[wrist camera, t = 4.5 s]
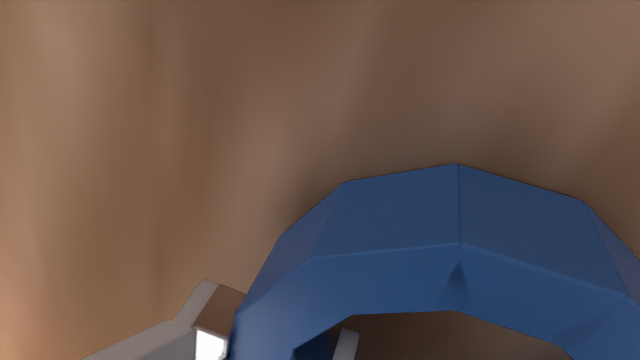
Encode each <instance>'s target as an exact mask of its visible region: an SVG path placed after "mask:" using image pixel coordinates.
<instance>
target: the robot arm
mask: <svg viewBox="0 0 640 360" xmlns="http://www.w3.org/2000/svg"><path fill="white" fill-rule="evenodd" d="M246 295H247V294H245V293H242V292H240V291H237V290H234V289H232V288H229V287H227V286H224V285H221V284H219V283H216V282H213V281H210V280H208V279H203V280H202V281H201V282H200V283H199V284H198V285H197V287H196V288H195V290H194V291H193V292H192V294H191V295H190V296H189V298H188V299H187V301H186V302H185V303H184V305H183V306H182V308H181V309H180V310H179V312H178V313H177V314H176V316H175V317H174V319H173V320H172V321H170V320H164V321H162V322H160V323H158V324H156V325H154V326H152V327H149V328H147V329H145V330H143V331H141V332H139V333H136V334H134V335H132V336H130V337H128V338H126V339H124V340H121V341H119V342H117V343H115V344H113V345H111V346H109V347H106V348H104V349H102V350H100V351H98V352H96V353H93V354H91V355H89V356H87V357H85V358H83V359H81V360H229V359H230V358H229V356H230V348H231V343H232V335H233V325H234V317H235V314H236V312H237V311H238V309H239V307H240V305H241V304H242V302H243V300H244V298H245V296H246ZM358 340H359V333H357V332H354V331H351V330H348V329H345V328H343V327H341V326H338V325H334V326H333V327H331V328H329V329H328V330H326V331H324V332H323V333H321V334H319V335H318V336H316V337H314V338H313V339H311V340H309V341H308V342H306V343H304V344H303V345H301V346H299V347H298V348H296V349H295V351H294V352H293V353H292V356H291V359H290V360H354V357H355V353H356V348H357V344H358Z"/></svg>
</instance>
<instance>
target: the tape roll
mask: <svg viewBox="0 0 640 360" xmlns="http://www.w3.org/2000/svg"><path fill="white" fill-rule="evenodd" d="M452 310H455V311H458V312H461V313H464V314H467V315H470V316H473V317H476V318H479V319H482V320H484V321H487V322H490V323H493V324H496V325H499V326H502V327H505V328H508V329H511V330H514V331H517V332H520V333H523V334H526V335H529V336H532V337H535V338H538V339H541V340H544V341H547V342H550V343H553V344H556V345H559V346H560V347H561V348H562V349H563V350H564V351H565V352H566V353H567V354H568V355H569V356H570V357H571V358H572V359H573V360H640V260H639V259H638V258H637V257H636V256H635V255H634V253H633V252H632V251H631V250H630V249H629V248H628V247H627V246H626V245H625V244H624V243H623V242H622V241H621V240H620V239H619V238H618V237H617V236H616V235H615V233H614V232H613V231H612V230H611V229H610V228H609V227H608V226H607V225H606V224H605V223H604V222H603V221H602V220H601V219H600V218H599V217H598V216H597V214H596V213H595V212H594V211H593V210H592V209H591V208H590V207H589V206H588V205H587V204H586V203H585V202H583V201H580V200H579V199H576V198H572V197H569V196H566V195H562V194H559V193H555V192H552V191H549V190H545V189H542V188H539V187H535V186H532V185H528V184H525V183H522V182H518V181H515V180H511V179H508V178H505V177H501V176H498V175H495V174H491V173H488V172H484V171H481V170H478V169H474V168H471V167H468V166H464V165H458V164H457V163H455V164H449V165H443V166H437V167H431V168H425V169H419V170H413V171H407V172H401V173H395V174H389V175H383V176H376V177H370V178H364V179H358V180H352V181H346V182H344V183H342V184H341V185H340V186H339V187H337V188H336V189H335V190H334V191H333V192H331V193H330V194H329V195H328V196H327V197H326V198H324V199H323V200H322V201H321V202H320V203H318V204H317V205H316V206H315V207H314V208H313V209H311V210H310V211H309V212H308V213H307V214H305V215H304V216H303V217H302V218H301V219H300V220H298V221H297V222H296V223H295V224H294V225H292V226H291V227H290V228H289V229H288V230H286V231H285V232H284V233H283V234H282V235H281V236H280V237H279V238H278V240H277V242H276V244H275V245H274V247H273V249H272V251H271V252H270V254H269V256H268V258H267V259H266V261H265V263H264V265H263V266H262V268H261V270H260V272H259V274H258V275H257V277H256V279H255V281H254V282H253V284H252V286H251V288H250V289H249V291H248V293H247V295H246V296H245V298H244V300H243V302H242V304H241V305H240V307H239V309H238V311H237V312H236V314H235V317H234V325H233V335H232V343H231V348H230V356H229V358H230V359H229V360H290V359H291V356H292V353H293V352H294V351H295V349H296V348H298V347H299V346H301V345H303V344H304V343H306V342H308V341H309V340H311V339H313V338H314V337H316V336H318V335H319V334H321V333H323V332H324V331H326V330H328V329H329V328H331V327H333V326H334V325H336V324H338V323H339V322H341V321H343V320H344V319H346V318H348V317H350V316H351V315H361V314H384V313H407V312H430V311H452Z"/></svg>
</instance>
